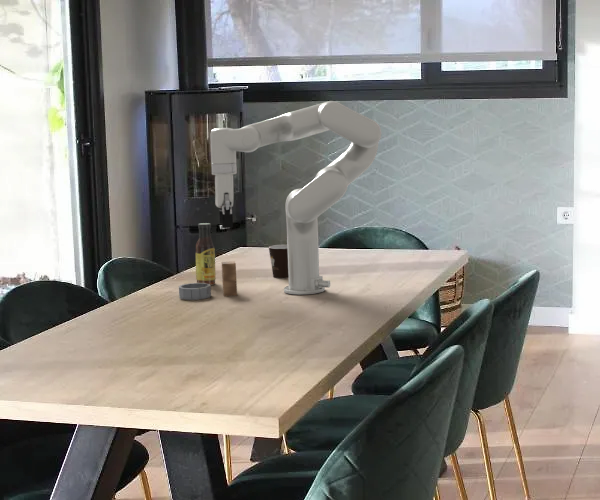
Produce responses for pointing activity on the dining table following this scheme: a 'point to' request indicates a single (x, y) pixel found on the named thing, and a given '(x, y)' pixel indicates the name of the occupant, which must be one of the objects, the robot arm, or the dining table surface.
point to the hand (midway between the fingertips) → (226, 225)
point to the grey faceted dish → (194, 291)
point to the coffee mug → (279, 261)
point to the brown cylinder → (229, 278)
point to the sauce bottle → (205, 256)
